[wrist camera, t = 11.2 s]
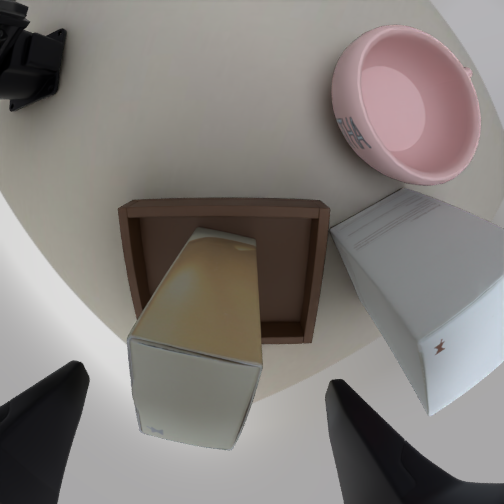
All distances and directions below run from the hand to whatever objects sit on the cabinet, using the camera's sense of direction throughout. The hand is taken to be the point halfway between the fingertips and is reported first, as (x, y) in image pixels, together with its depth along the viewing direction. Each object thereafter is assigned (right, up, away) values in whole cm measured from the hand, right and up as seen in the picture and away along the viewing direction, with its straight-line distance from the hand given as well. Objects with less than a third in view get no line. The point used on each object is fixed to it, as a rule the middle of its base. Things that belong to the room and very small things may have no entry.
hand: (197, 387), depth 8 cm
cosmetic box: (0, +3, +12) cm, 12 cm away
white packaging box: (+12, +5, +12) cm, 18 cm away
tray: (0, +3, +12) cm, 13 cm away
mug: (+12, +15, +8) cm, 21 cm away
